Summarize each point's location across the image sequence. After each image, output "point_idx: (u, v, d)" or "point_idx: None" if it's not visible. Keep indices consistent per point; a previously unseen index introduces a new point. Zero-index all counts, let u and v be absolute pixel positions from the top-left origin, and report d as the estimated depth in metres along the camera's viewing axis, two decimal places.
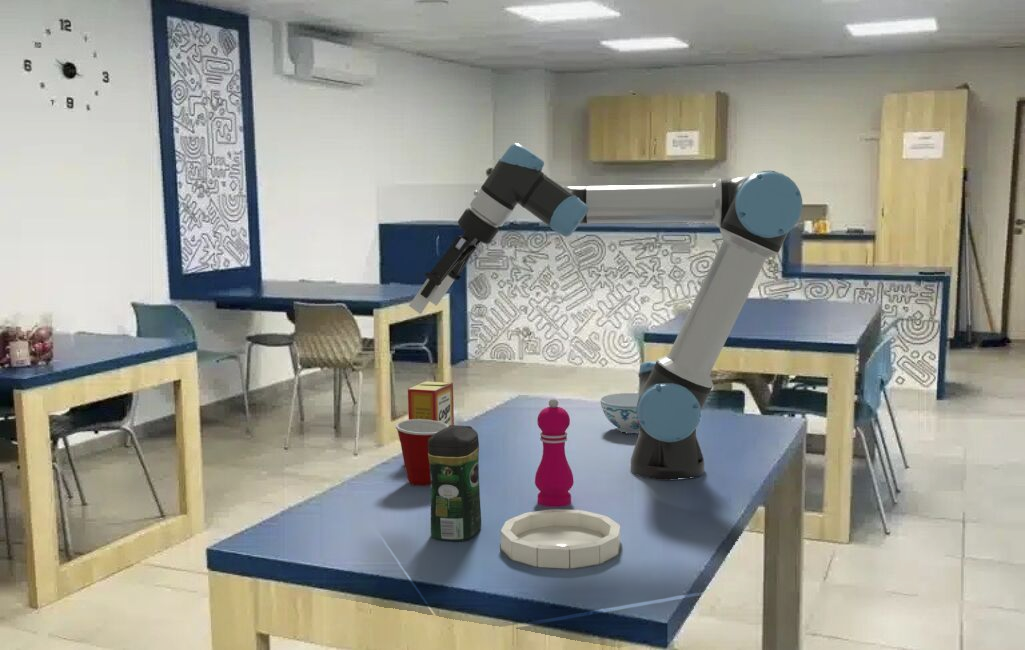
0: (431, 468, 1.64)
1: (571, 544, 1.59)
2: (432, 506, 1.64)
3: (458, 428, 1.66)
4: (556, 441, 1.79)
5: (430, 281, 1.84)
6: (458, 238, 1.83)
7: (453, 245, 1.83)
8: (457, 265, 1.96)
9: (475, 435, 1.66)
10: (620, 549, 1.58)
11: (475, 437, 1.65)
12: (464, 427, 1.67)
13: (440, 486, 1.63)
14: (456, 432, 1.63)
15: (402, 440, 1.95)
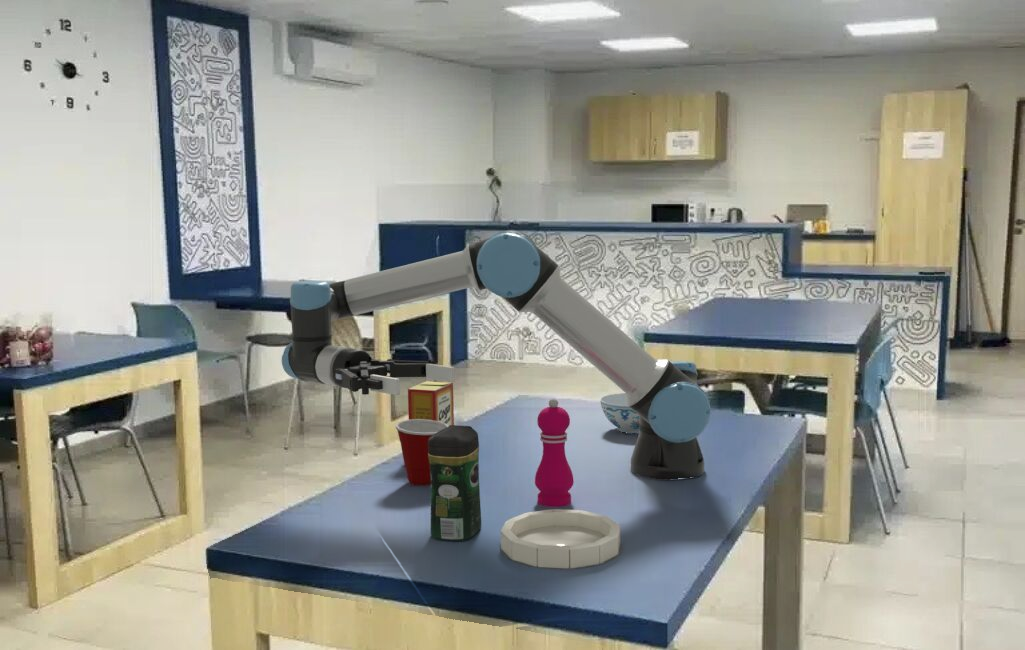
0: (431, 468, 1.64)
1: (571, 544, 1.59)
2: (432, 506, 1.64)
3: (458, 428, 1.66)
4: (556, 441, 1.79)
5: (364, 386, 1.68)
6: (336, 380, 1.75)
7: (341, 382, 1.74)
8: (407, 368, 1.80)
9: (475, 435, 1.66)
10: (620, 549, 1.58)
11: (475, 437, 1.65)
12: (465, 427, 1.67)
13: (440, 486, 1.63)
14: (456, 432, 1.63)
15: (402, 440, 1.95)
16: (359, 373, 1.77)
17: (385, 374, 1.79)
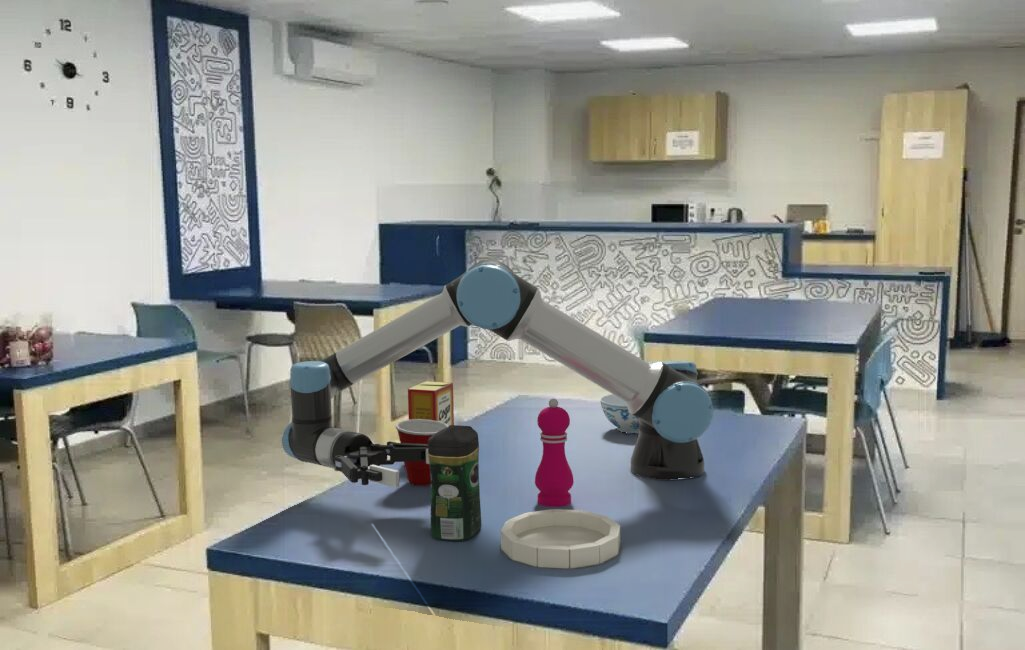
0: (431, 468, 1.64)
1: (571, 544, 1.59)
2: (432, 506, 1.64)
3: (458, 428, 1.66)
4: (556, 441, 1.79)
5: (363, 476, 1.68)
6: (336, 468, 1.75)
7: (340, 469, 1.74)
8: (407, 452, 1.80)
9: (475, 435, 1.66)
10: (620, 549, 1.58)
11: (475, 437, 1.65)
12: (464, 427, 1.67)
13: (440, 486, 1.63)
14: (456, 432, 1.63)
15: (402, 440, 1.95)
16: (359, 459, 1.77)
17: (385, 459, 1.79)
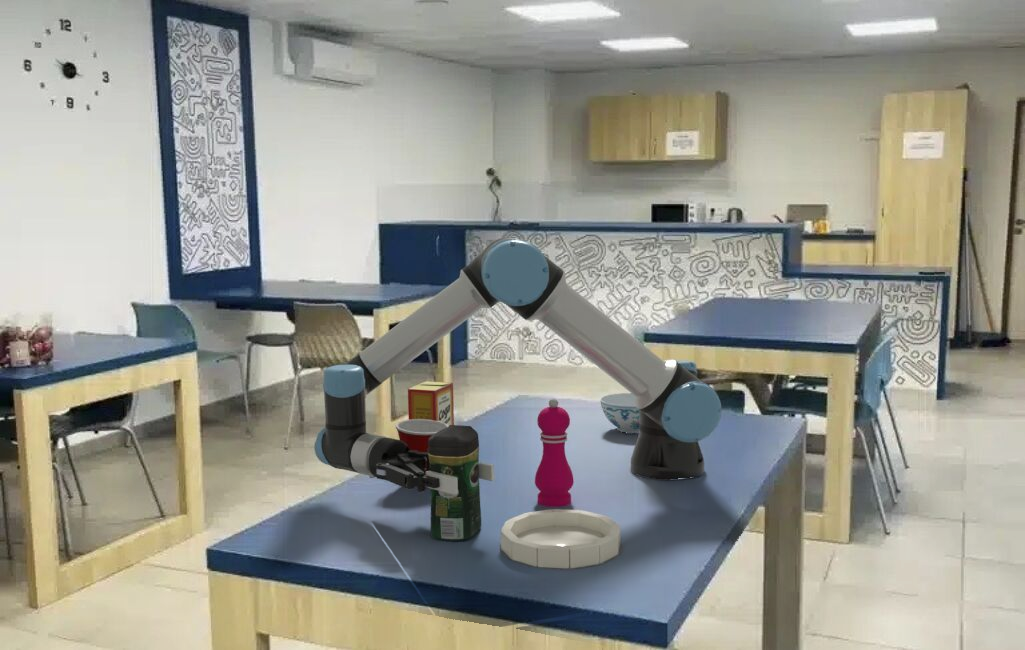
0: (431, 468, 1.64)
1: (571, 544, 1.59)
2: (432, 506, 1.64)
3: (458, 428, 1.66)
4: (556, 441, 1.79)
5: (420, 483, 1.63)
6: (377, 476, 1.69)
7: (384, 477, 1.68)
8: None
9: (475, 435, 1.66)
10: (620, 549, 1.58)
11: (475, 437, 1.65)
12: (465, 427, 1.67)
13: None
14: (456, 432, 1.63)
15: (402, 440, 1.95)
16: None
17: (424, 466, 1.73)
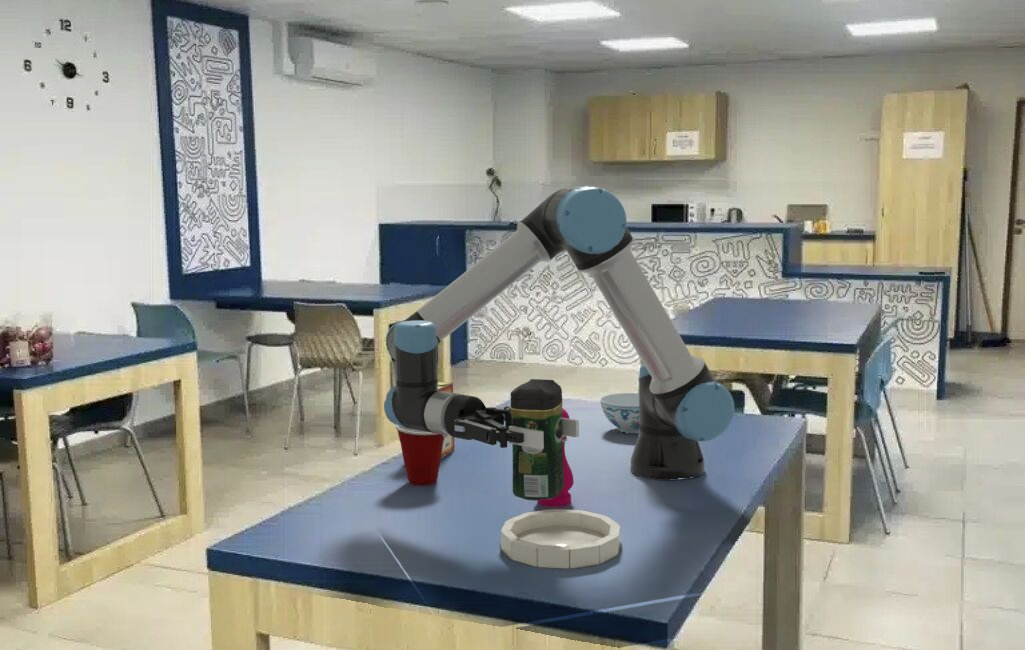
0: (514, 423, 1.56)
1: (571, 544, 1.59)
2: (515, 463, 1.57)
3: (541, 381, 1.58)
4: None
5: (503, 438, 1.55)
6: (455, 433, 1.61)
7: (463, 434, 1.60)
8: None
9: (559, 388, 1.58)
10: (620, 549, 1.58)
11: (559, 390, 1.57)
12: (547, 381, 1.59)
13: None
14: (540, 385, 1.56)
15: (402, 440, 1.95)
16: (478, 423, 1.63)
17: (502, 423, 1.65)
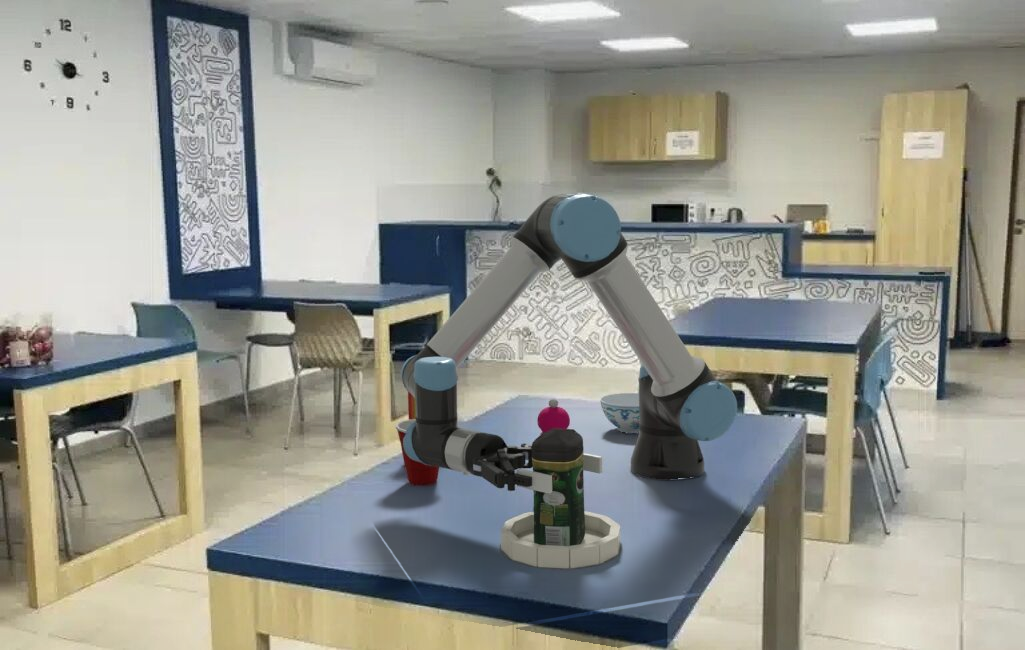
0: None
1: None
2: (536, 513, 1.57)
3: (562, 432, 1.58)
4: None
5: (511, 481, 1.54)
6: (473, 472, 1.62)
7: (480, 474, 1.60)
8: None
9: (580, 439, 1.58)
10: (620, 549, 1.58)
11: (581, 441, 1.57)
12: (568, 430, 1.59)
13: (545, 493, 1.55)
14: (561, 436, 1.56)
15: (402, 440, 1.95)
16: (497, 463, 1.63)
17: (524, 463, 1.65)
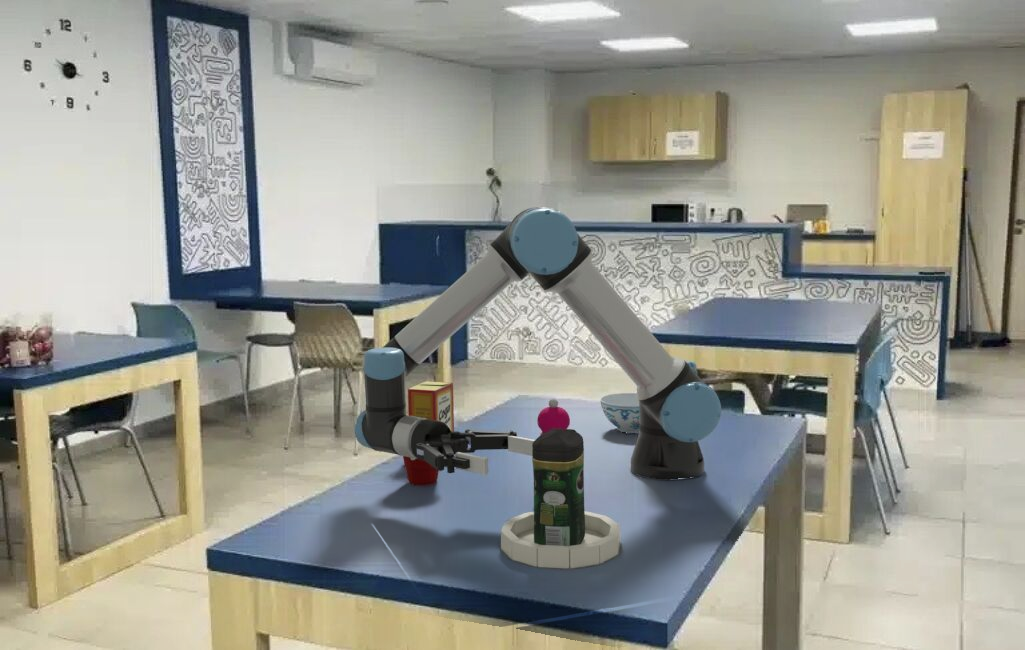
0: (535, 473, 1.56)
1: None
2: (536, 513, 1.57)
3: (563, 432, 1.58)
4: None
5: (450, 464, 1.63)
6: (417, 456, 1.70)
7: (423, 458, 1.69)
8: (488, 440, 1.75)
9: (581, 439, 1.58)
10: (620, 549, 1.58)
11: (581, 441, 1.57)
12: (569, 431, 1.59)
13: (545, 493, 1.55)
14: (562, 436, 1.56)
15: None
16: (440, 447, 1.72)
17: (466, 447, 1.74)
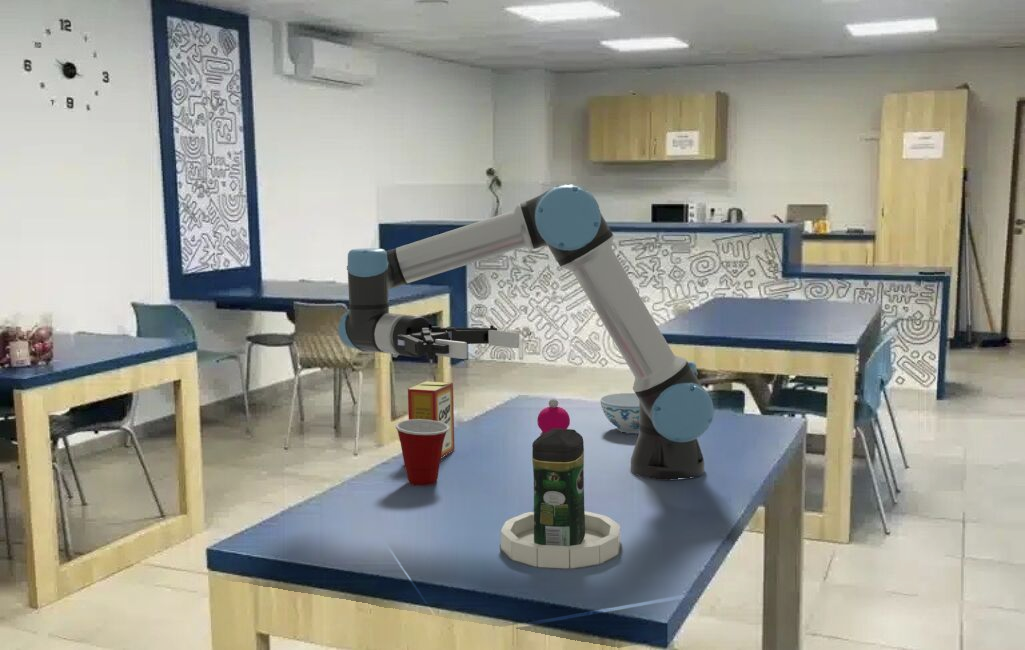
0: (535, 473, 1.56)
1: None
2: (536, 513, 1.57)
3: (563, 432, 1.58)
4: None
5: (429, 350, 1.65)
6: (398, 347, 1.72)
7: (403, 348, 1.71)
8: (469, 334, 1.77)
9: (581, 439, 1.58)
10: (620, 549, 1.58)
11: (581, 441, 1.57)
12: (569, 431, 1.59)
13: (545, 493, 1.55)
14: (562, 436, 1.56)
15: (402, 440, 1.95)
16: (421, 339, 1.74)
17: None
